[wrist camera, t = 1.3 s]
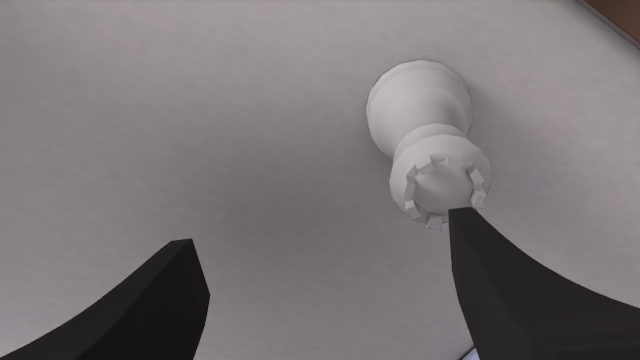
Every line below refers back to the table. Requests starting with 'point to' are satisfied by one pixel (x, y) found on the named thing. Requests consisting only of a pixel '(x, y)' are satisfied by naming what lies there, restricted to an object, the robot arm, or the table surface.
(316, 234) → the table surface
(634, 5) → the cutting board
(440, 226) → the rook chess piece
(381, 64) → the table surface
